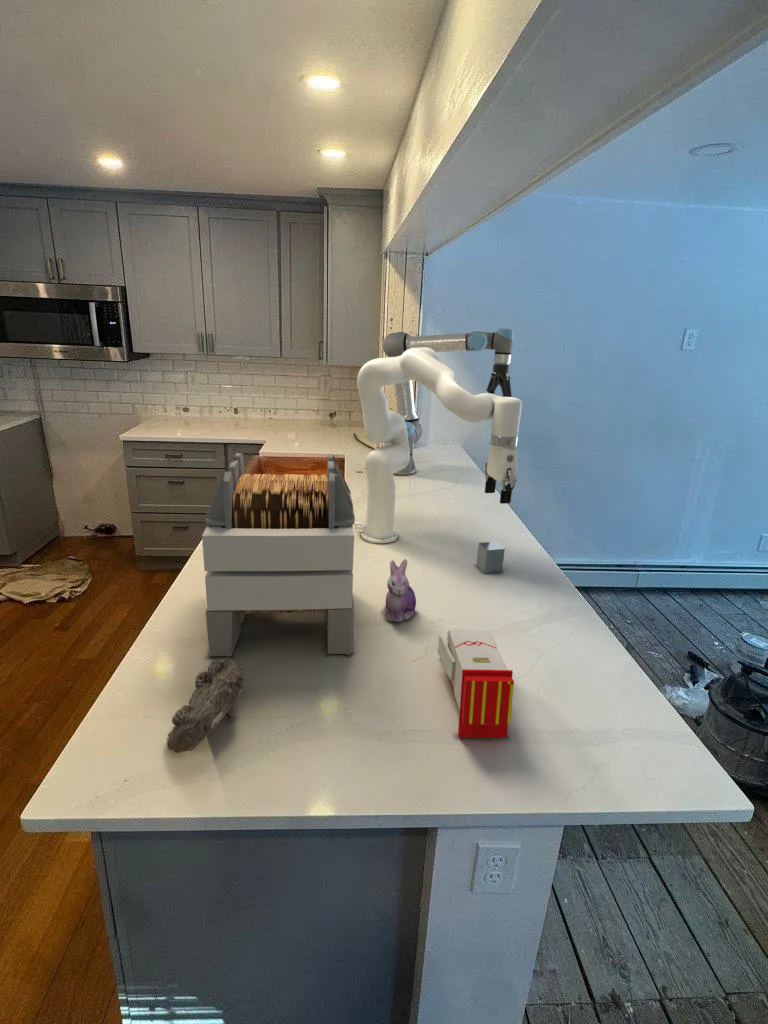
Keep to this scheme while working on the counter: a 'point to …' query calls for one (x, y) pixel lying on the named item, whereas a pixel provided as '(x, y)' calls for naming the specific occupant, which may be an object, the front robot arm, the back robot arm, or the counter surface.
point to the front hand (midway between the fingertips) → (497, 497)
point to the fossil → (206, 705)
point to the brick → (490, 557)
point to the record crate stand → (279, 552)
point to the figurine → (399, 594)
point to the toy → (478, 682)
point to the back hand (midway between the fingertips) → (496, 410)
